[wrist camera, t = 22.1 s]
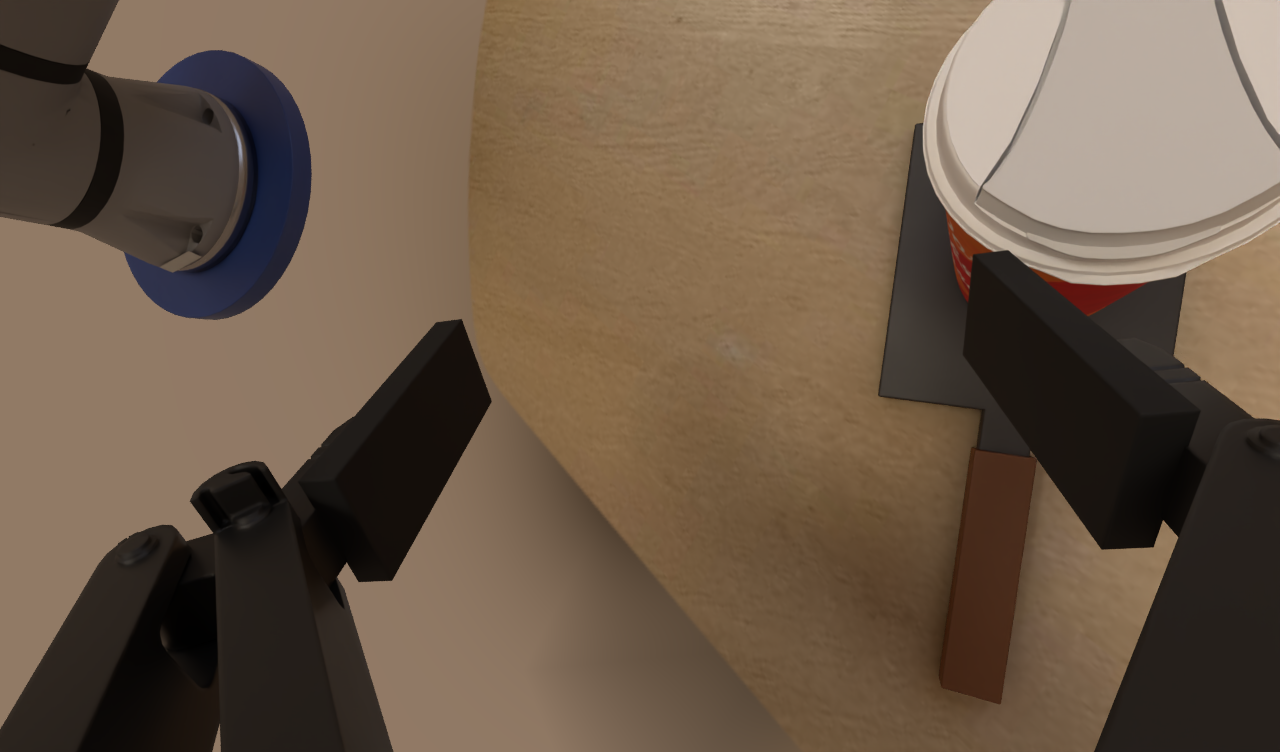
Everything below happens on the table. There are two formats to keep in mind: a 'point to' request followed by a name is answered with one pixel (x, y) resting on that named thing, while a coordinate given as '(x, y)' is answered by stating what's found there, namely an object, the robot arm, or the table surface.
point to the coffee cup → (1108, 138)
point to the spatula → (1000, 464)
